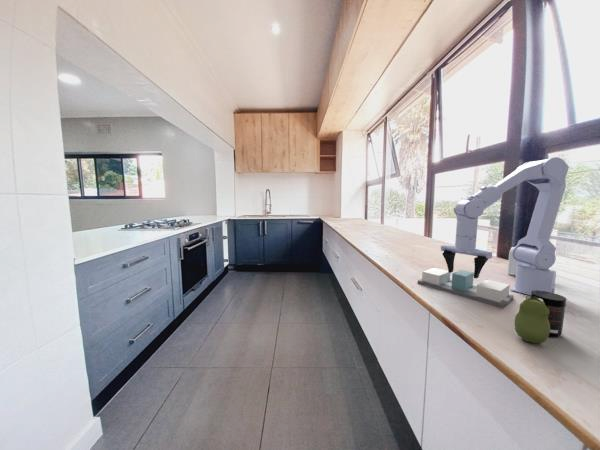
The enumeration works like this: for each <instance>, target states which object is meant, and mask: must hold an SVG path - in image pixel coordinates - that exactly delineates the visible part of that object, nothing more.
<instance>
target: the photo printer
mask: <svg viewBox="0 0 600 450" xmlns="http://www.w3.org/2000/svg"><path fill="white" fill-rule="evenodd" d="M515 247H516V246H512V247H511V248H510V250H509V253H508V264H507V275H508V276H514V277H516V269H517V263H516V260H515V259H514V258H513V256H512V251H513V249H514V248H515Z"/></svg>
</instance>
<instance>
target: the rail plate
mask: <svg viewBox="0 0 600 450" xmlns="http://www.w3.org/2000/svg"><path fill="white" fill-rule="evenodd" d="M451 273H452V272H451ZM451 273H450V272H448V269H443V268H440V267H439V268H438V267H431V268H428V269H425V270H423V271H422V273H421V274H422V276H421V278H420V279H418V280H417V283H418V284H420V285H423V286H426V287H427V286H428V287H430V288H434V289H437V290H440V291H444V292H448V293H450V294H454V295H458V296H460V297H465V298H468V299H472V300H475V301H479V302H481V303H485V304H488V305H492V306H495V307H498V308H501V309H503V308H505V306H507V305H508V304H509V303H510V302H511V301H512V300H514V295H513V294H510V285H511V284H509V283H503V282H501V281H495V280H490V279H485V280H483V281H481V282H480V283H477V284H476V285H474V284H473V287H471V288H469V289H467V290H466V291H462V290H459V289H455V288H451V285H452V279H451V275H452V274H451Z"/></svg>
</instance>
